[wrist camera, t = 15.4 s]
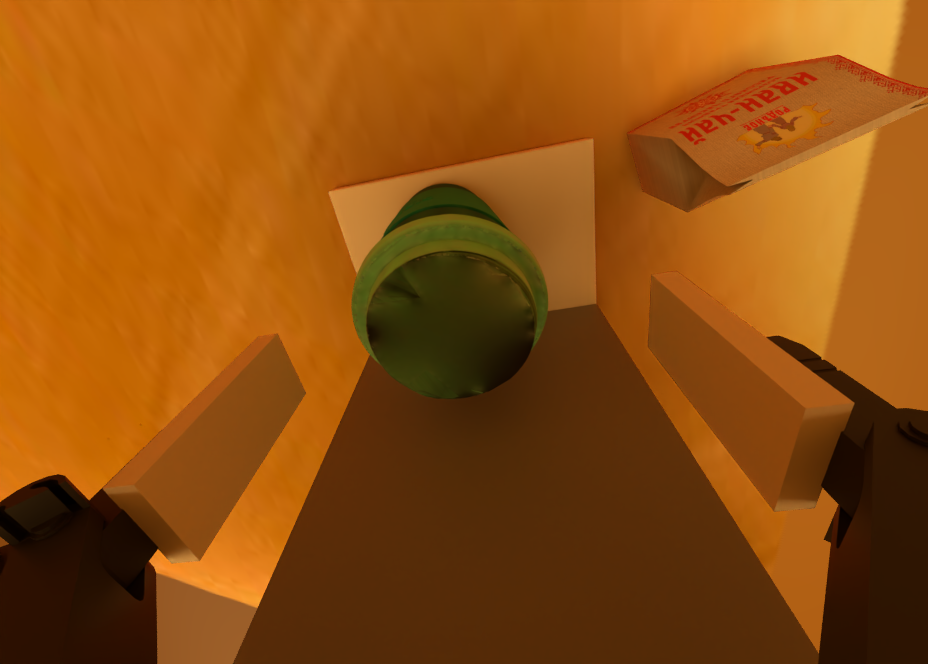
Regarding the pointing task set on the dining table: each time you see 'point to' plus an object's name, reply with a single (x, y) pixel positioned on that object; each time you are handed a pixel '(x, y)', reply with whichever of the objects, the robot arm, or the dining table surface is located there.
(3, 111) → the dining table surface
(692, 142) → the tea bag
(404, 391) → the stand
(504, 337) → the cup
